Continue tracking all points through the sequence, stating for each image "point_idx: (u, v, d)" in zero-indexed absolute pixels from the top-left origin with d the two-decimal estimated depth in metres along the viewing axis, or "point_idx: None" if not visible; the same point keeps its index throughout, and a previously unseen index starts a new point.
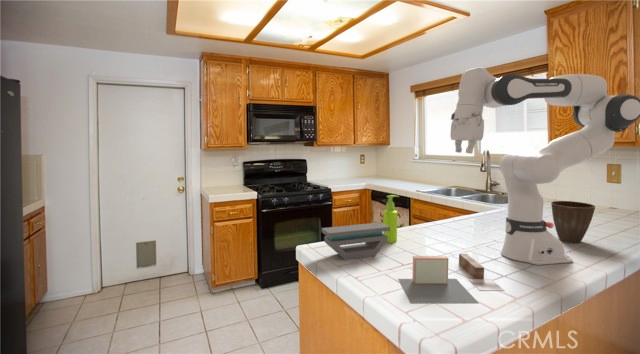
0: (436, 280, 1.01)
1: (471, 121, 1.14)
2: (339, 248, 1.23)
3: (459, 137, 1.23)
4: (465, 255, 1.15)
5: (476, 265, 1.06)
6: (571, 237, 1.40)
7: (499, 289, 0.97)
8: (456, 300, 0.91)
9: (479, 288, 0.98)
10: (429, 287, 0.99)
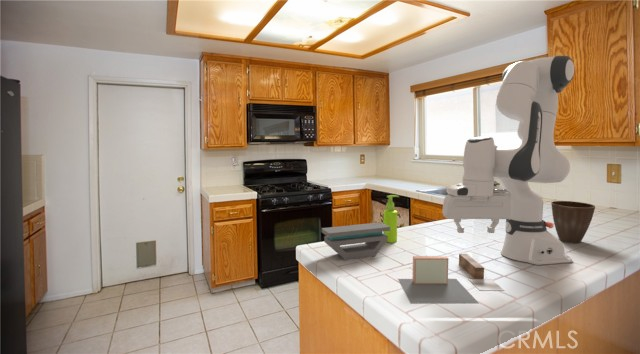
0: (436, 280, 1.01)
1: (504, 199, 1.03)
2: (339, 248, 1.23)
3: (475, 216, 1.04)
4: (465, 255, 1.15)
5: (476, 265, 1.06)
6: (571, 237, 1.40)
7: (499, 289, 0.97)
8: (456, 300, 0.91)
9: (479, 288, 0.98)
10: (429, 287, 0.99)
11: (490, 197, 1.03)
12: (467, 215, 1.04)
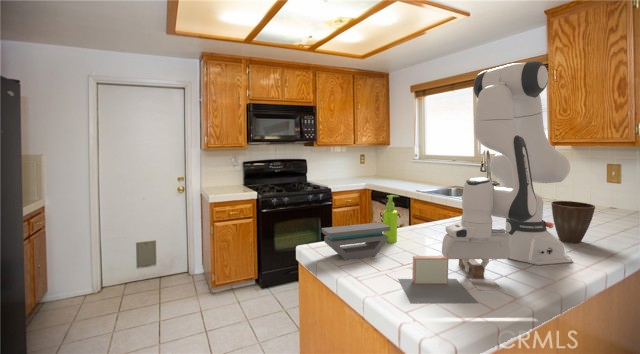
0: (436, 280, 1.01)
1: (503, 240, 1.05)
2: (339, 248, 1.23)
3: (474, 257, 1.05)
4: None
5: (476, 265, 1.06)
6: (571, 237, 1.40)
7: (499, 289, 0.97)
8: (456, 300, 0.91)
9: (479, 288, 0.98)
10: (429, 287, 0.99)
11: (489, 238, 1.05)
12: (466, 255, 1.05)
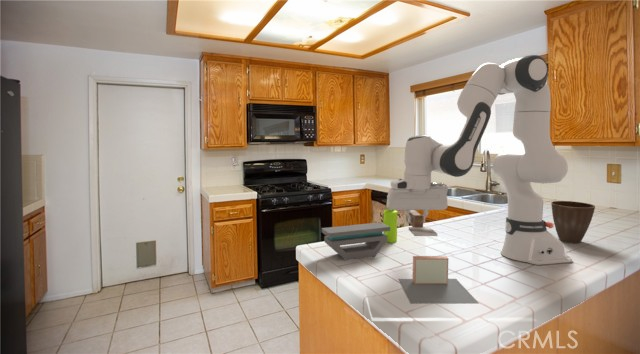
0: (436, 280, 1.01)
1: (441, 192, 1.14)
2: (339, 248, 1.23)
3: (415, 208, 1.15)
4: (411, 210, 1.24)
5: (416, 215, 1.15)
6: (571, 237, 1.40)
7: (433, 233, 1.06)
8: (456, 300, 0.91)
9: (415, 232, 1.07)
10: (429, 287, 0.99)
11: (428, 190, 1.14)
12: (407, 206, 1.15)
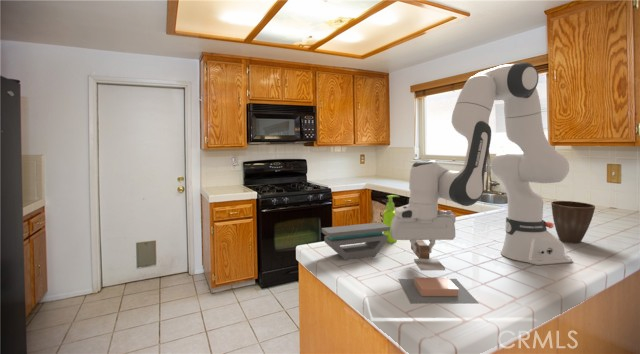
0: None
1: (448, 221, 1.07)
2: (339, 248, 1.23)
3: (420, 237, 1.08)
4: None
5: (422, 246, 1.08)
6: (571, 237, 1.40)
7: (440, 267, 0.99)
8: (456, 300, 0.91)
9: (421, 266, 1.00)
10: None
11: (434, 219, 1.07)
12: (412, 236, 1.08)
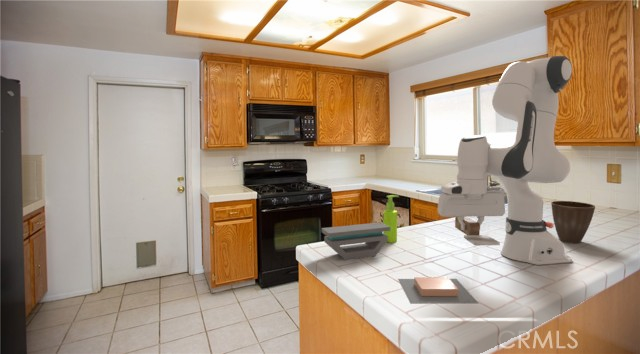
0: None
1: (498, 197, 1.05)
2: (339, 248, 1.23)
3: (470, 214, 1.06)
4: None
5: (471, 222, 1.06)
6: (571, 237, 1.40)
7: (494, 242, 0.98)
8: (456, 300, 0.91)
9: (474, 241, 0.98)
10: None
11: (484, 195, 1.05)
12: (462, 213, 1.06)
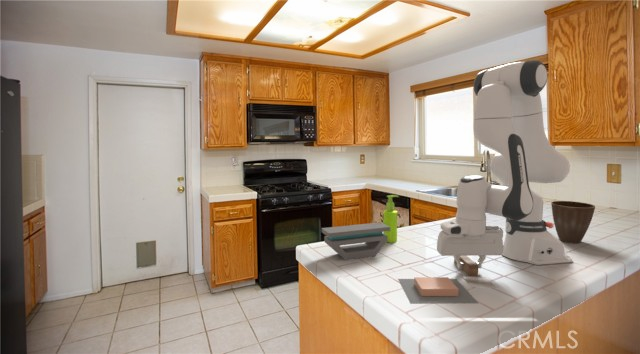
0: None
1: (496, 237, 1.07)
2: (339, 248, 1.23)
3: (468, 253, 1.07)
4: None
5: (470, 263, 1.07)
6: (571, 237, 1.40)
7: (492, 286, 0.99)
8: (456, 300, 0.91)
9: (473, 285, 1.00)
10: None
11: (482, 234, 1.07)
12: (460, 252, 1.07)
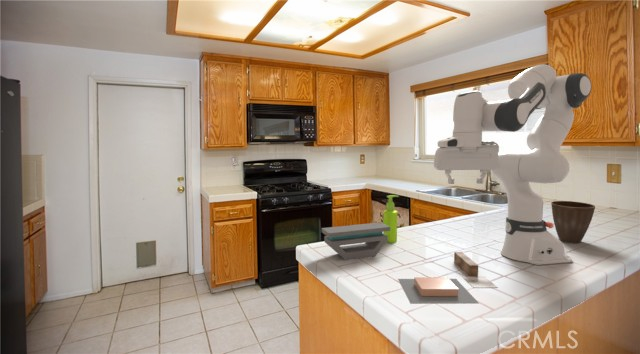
0: None
1: (492, 150, 1.09)
2: (339, 248, 1.23)
3: (465, 167, 1.09)
4: (460, 253, 1.17)
5: (470, 263, 1.07)
6: (571, 237, 1.40)
7: (492, 286, 0.99)
8: (456, 300, 0.91)
9: (473, 285, 1.00)
10: None
11: (479, 148, 1.09)
12: (457, 166, 1.09)
